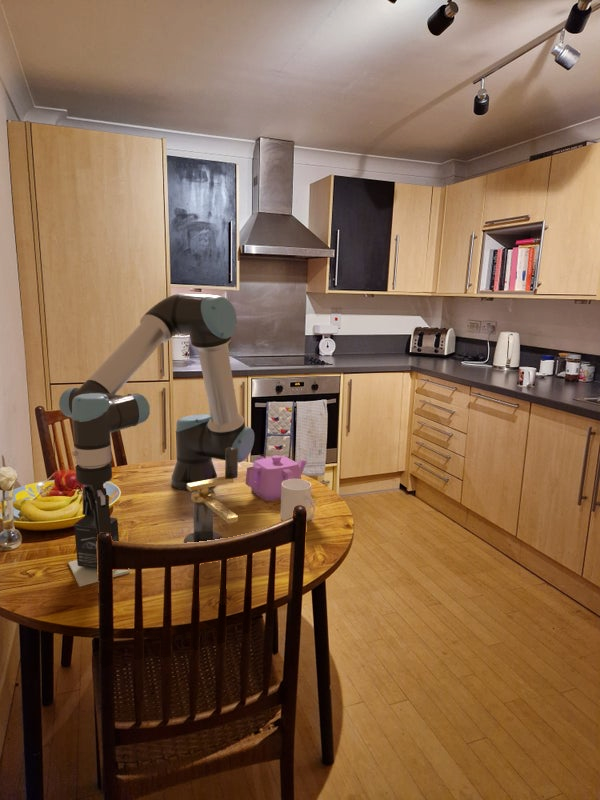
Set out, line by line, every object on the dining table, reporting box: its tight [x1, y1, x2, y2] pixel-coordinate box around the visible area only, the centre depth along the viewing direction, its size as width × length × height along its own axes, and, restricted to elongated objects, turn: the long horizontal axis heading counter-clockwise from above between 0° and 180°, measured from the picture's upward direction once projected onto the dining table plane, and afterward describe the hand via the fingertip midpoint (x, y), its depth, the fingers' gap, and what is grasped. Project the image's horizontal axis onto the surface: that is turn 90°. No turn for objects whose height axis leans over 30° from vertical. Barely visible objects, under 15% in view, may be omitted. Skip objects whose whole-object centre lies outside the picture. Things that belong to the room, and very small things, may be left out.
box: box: [73, 515, 120, 569], centre depth 119 cm, size 8×6×11 cm
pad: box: [68, 559, 131, 588], centre depth 120 cm, size 11×11×1 cm
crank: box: [187, 447, 239, 524], centre depth 127 cm, size 14×19×12 cm
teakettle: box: [245, 455, 307, 502], centre depth 168 cm, size 17×17×12 cm
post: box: [183, 501, 224, 544], centre depth 133 cm, size 10×10×12 cm
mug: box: [280, 478, 316, 522], centre depth 148 cm, size 9×12×11 cm
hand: (98, 554), depth 120 cm, fingers closed on box, 9 cm apart
